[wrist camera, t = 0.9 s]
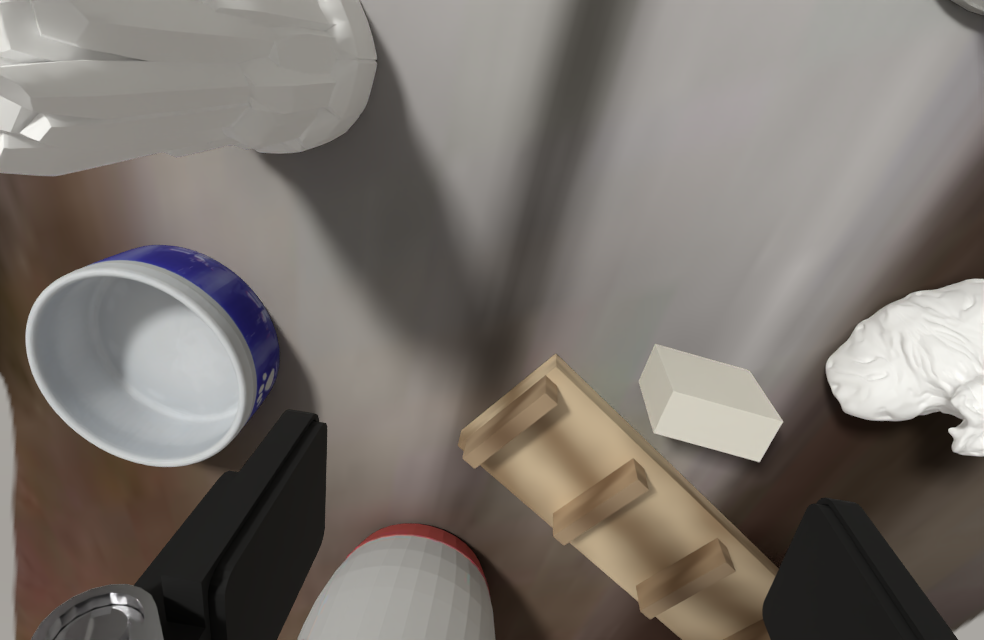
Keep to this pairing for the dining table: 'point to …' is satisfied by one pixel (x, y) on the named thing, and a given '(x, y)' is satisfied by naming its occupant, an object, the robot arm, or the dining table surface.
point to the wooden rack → (622, 505)
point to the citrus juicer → (405, 591)
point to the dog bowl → (153, 354)
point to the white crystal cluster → (176, 78)
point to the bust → (918, 362)
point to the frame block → (707, 403)
